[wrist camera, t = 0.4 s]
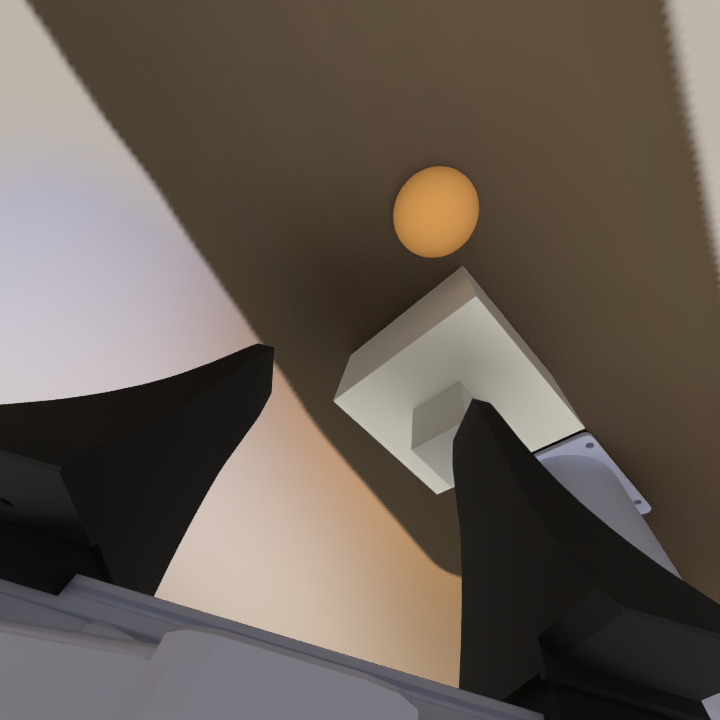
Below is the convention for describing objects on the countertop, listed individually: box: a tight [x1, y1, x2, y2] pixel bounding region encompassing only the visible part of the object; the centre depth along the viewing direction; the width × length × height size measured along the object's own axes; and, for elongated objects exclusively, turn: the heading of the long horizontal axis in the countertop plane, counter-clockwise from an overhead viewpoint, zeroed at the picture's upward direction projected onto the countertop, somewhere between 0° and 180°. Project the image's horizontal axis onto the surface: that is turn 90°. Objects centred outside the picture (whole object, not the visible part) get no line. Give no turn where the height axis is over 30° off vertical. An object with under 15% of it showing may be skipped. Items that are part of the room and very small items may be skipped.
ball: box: [393, 166, 479, 258], centre depth 16 cm, size 4×4×4 cm
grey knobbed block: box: [334, 266, 585, 494], centre depth 18 cm, size 9×9×8 cm
